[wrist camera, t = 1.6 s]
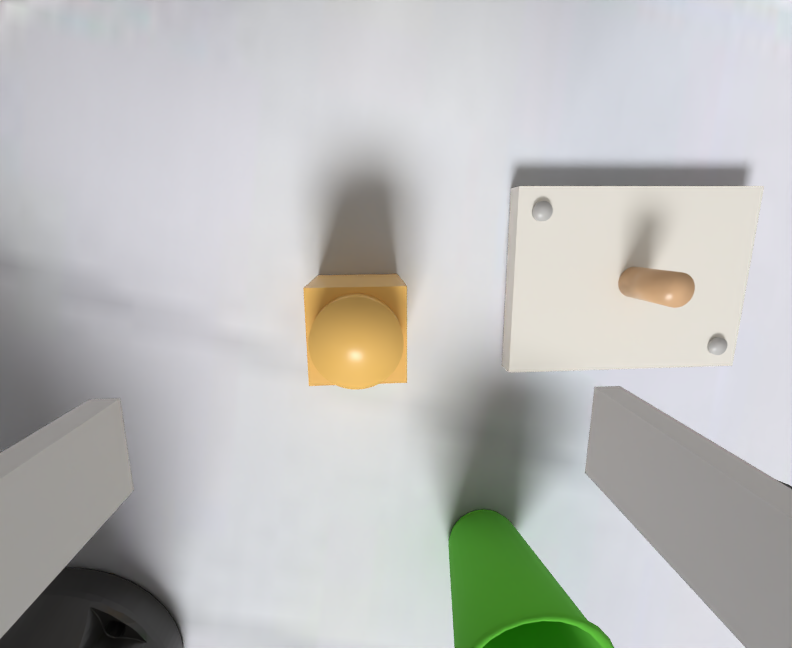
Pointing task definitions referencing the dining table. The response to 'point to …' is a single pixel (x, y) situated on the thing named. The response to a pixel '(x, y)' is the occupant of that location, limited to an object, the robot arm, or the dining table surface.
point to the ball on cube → (356, 330)
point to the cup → (509, 592)
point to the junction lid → (626, 276)
